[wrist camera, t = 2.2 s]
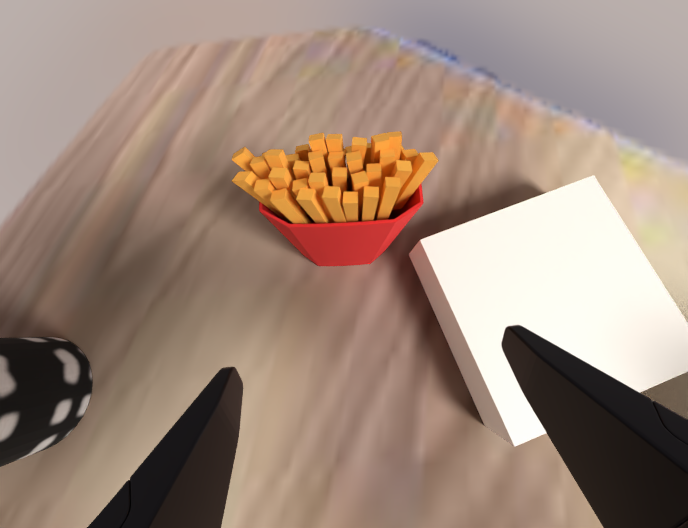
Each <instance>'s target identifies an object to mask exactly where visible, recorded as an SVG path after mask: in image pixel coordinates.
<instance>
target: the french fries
mask: <svg viewBox="0 0 688 528" xmlns="http://www.w3.org/2000/svg"><path fill="white" fill-rule="evenodd" d="M401 142H402V134H401V132H387V134H386V133H383V134H378V135H374V136H371V143H367V138H358V137H353V140H352V146H349V147H345V149H344V148H343V139H342V134H328V136H327V138H326V140H325V137H324V133H319V134H315V135H310V136H309V144H310V146H311V149H310V147H309V144H306V145H301V146H296V150H295V153H296V154H291V155H286V156H285V153H284V151H283V149H280V150H275V149H274V150H268V151H267V152H265V153H262V156H259V157H255V156H254V155H253V154H252V153H251V152H250V151H249V150H248V149H247V148H246V147H244V148H242V149H241V150H239V151H237V152H236V153H234V154H233V157H232V160H233V161H234V162H235V163H236V164H238V165H239V166H240V167H241V168H242V169H244V170H245V171H244V172H238V173H237V175H236V176H235V177H234V179H233V180H232V182H234V183H235V184H236V185H238V186H239V187H240V188H242V189H243V190H245V191H246V192H247V193H249V194H250V195H251V196H253V197H254V198H255V199H257V200H258V201H259V211H260V212H261V213H262V214H263V215H264V216H265V217H266V218H267V219H268V220H269V221H270V222H271V223H272V224H273V225H274V226H275V227H276V228H277V229H278V230H279V231H280V232H281V233H282V234H283V235H284V236H285V237H286V238H287V239H288V240H289V241H290V242H291V243H292V244H293V245H294V246H295V247H296V248H297V249H298V250H299V251H300V252H301V253H302V254H303V255H304V256H305V257H307V258H308V259H310V260H311V261H312V262H314V263H315V264H316V265H318V266H348V265H362V264H371V263H372V262H373V261H374V260H375V259H376V258H378V257H379V256H380V255H381V254H382V253H383V252H384V251H385V250H386V249H387V248H388V246H389V245H390V244H391V243H392V241H393V240H394V239H395V238H396V236H397V235H398V234H399V233H400V231H401V230H402V229H403V228H404V227H405V225H406V224H407V223H408V222H409V220H410V219H411V218H412V217H413V215H414V214H415V213H416V212H417V211H418V209H419V208H420V207H421V206H422V204H423V194H422V185H421V183H422V181H423V180H424V179H425V178H426V176H427V175H428V174H429V172H430V171H431V170H432V168H433V167H434V166H435V165H436V163H437V162H438V161H439V160H438V159H437V158H436V156H435V155H434V153H433V152H432V153H419V154H418V153H417V151H416V150H415V149H409V150H404V148H403V147H402V145H401ZM345 158H346V159H347V168H348V169H347V168H346V163H345Z"/></svg>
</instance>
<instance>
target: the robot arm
mask: <svg viewBox="0 0 688 528" xmlns="http://www.w3.org/2000/svg"><path fill="white" fill-rule="evenodd" d="M501 346H502V350H503V352H504V354H505V356H506V359H507V361H508V363H509V365H510V367H511V369H512V371H513V373H514V376H515V378H516V380H517V382H518V384H519V386H520V388H521V390H522V392H523V394H524V396H525V397H526V399H527V401H528V403H529V404H530V406H531V408H532V409H533V411H534V413H535V414H536V416H537V418H538V419H539V421H540V423H541V424H542V426H543V428H544V429H545V431H546V433H547V434H548V436H549V438H550V439H551V441H552V443H553V444H554V446H555V447H556V449H557V451H558V452H559V454H560V456H561V457H562V459H563V461H564V462H565V464H566V466H567V467H568V469H569V471H570V472H571V474H572V476H573V477H574V479H575V481H576V482H577V484H578V486H579V487H580V489H581V491H582V492H583V494H584V496H585V497H586V499H587V501H588V502H589V504H590V506H591V507H592V509H593V511H594V512H595V514H596V516H597V517H598V519H599V521H600V522H601V524H602V526H603V527H604V528H688V419H686V418H684V417H682V416H681V415H679V414H677V413H675V412H673V411H671V410H670V409H668V408H666V407H664V406H663V405H661V404H659V403H657V402H656V401H652V400H651V399H650V398H648V397H647V396H645V395H643V394H641V393H639V392H638V391H636V390H634V389H632V388H631V387H629V386H627V385H625V384H624V383H622V382H620V381H618V380H617V379H615V378H613V377H611V376H609V375H608V374H606V373H604V372H602V371H601V370H599V369H597V368H595V367H594V366H592V365H590V364H588V363H587V362H585V361H583V360H581V359H579V358H578V357H576V356H574V355H572V354H571V353H569V352H567V351H565V350H564V349H562V348H560V347H558V346H557V345H555V344H553V343H551V342H549V341H548V340H546V339H544V338H542V337H541V336H539V335H537V334H535V333H534V332H532V331H530V330H528V329H527V328H525V327H523V326H521V325H512V326H507V327H506V328H505V331H504V335H503V339H502V343H501ZM242 395H243V383H242V380H241V378H240V376H239V374H238V372H237V370H236V368H235V367H226V368H222V369H221V370H219V372H218V373H217V374H216V375H215V376H214V378H213V379H212V380H211V381H210V382H209V384H208V385H207V386H206V387H205V388H204V390H203V391H202V392H201V393H200V394H199V396H198V397H197V398H196V399H195V400H194V402H193V403H192V404H191V405H190V406H189V408H188V409H187V410H186V411H185V412H184V414H183V415H182V416H181V417H180V418H179V420H178V421H177V422H176V423H175V424H174V426H173V427H172V428H171V429H170V430H169V432H168V433H167V434H166V435H165V436H164V438H163V439H162V440H161V441H160V442H159V444H158V445H157V446H156V447H155V448H154V450H153V451H152V452H151V453H150V454H149V456H148V457H147V458H146V459H145V460H144V462H143V463H142V464H141V465H140V466H139V468H138V469H137V470H136V471H135V472H134V474H133V475H132V476H131V477H130V480H128V481H127V482H126V483H125V484H124V486H123V487H122V488H121V489H120V490H119V492H118V493H117V494H116V495H115V496H114V497H113V499H112V500H111V501H110V502H109V503H108V504H107V506H106V507H105V508H104V509H103V510H102V511H101V513H100V514H99V515H98V516H97V517H96V518H95V519H94V521H93V522H92V523H91V524H90V525H89V526H88V527H87V528H221V524H222V519H223V514H224V509H225V504H226V499H227V494H228V489H229V484H230V479H231V474H232V469H233V464H234V459H235V453H236V448H237V443H238V437H239V429H240V418H241V407H242Z"/></svg>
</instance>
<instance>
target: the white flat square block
mask: <svg viewBox="0 0 688 528" xmlns="http://www.w3.org/2000/svg"><path fill="white" fill-rule="evenodd" d="M409 256H410V259H411V261H412V263H413V265H414V268H415V270H416V272H417V274H418V277H419V279H420V281H421V284H422V286H423V288H424V290H425V293H426V295H427V297H428V299H429V302H430V304H431V306H432V308H433V311H434V313H435V315H436V317H437V320H438V322H439V324H440V326H441V329H442V331H443V333H444V335H445V338H446V340H447V342H448V344H449V347H450V349H451V351H452V353H453V356H454V358H455V360H456V362H457V365H458V367H459V369H460V372H461V374H462V376H463V378H464V381H465V383H466V385H467V387H468V390H469V392H470V394H471V396H472V399H473V401H474V403H475V405H476V408H477V410H478V412H479V414H480V417H481V419H482V421H483V423H484V426H486V427H487V428H489V429H490V430H491V431H493V432H494V433H496V434H497V435H499V436H500V437H502V438H503V439H504V440H506V441H507V442H509V443H510V444H512V445H513V446H517V445H520V444H522V443H524V442H526V441H529V440H531V439H533V438H536V437H538V436H540V435H543V434H545V433H546V431H545V429H544V428H543V426H542V424H541V423H540V421H539V419H538V418H537V416H536V414H535V413H534V411H533V409H532V408H531V406H530V404H529V403H528V401H527V399H526V397H525V396H524V394H523V392H522V390H521V388H520V386H519V384H518V382H517V380H516V378H515V376H514V373H513V371H512V369H511V367H510V365H509V363H508V361H507V359H506V356H505V354H504V352H503V350H502V346H501V343H502V339H503V335H504V331H505V328H506V327H507V326H512V325H521V326H523V327H525V328H527V329H528V330H530V331H532V332H534V333H535V334H537V335H539V336H541V337H542V338H544V339H546V340H548V341H549V342H551V343H553V344H555V345H557V346H558V347H560V348H562V349H564V350H565V351H567V352H569V353H571V354H572V355H574V356H576V357H578V358H579V359H581V360H583V361H585V362H587V363H588V364H590V365H592V366H594V367H595V368H597V369H599V370H601V371H602V372H604V373H606V374H608V375H609V376H611V377H613V378H615V379H617V380H618V381H620V382H622V383H624V384H625V385H627V386H629V387H631V388H632V389H634V390H636V391H638V392H639V393H640V392H642V391H644V390H647V389H649V388H651V387H654V386H656V385H658V384H661V383H663V382H665V381H668V380H670V379H672V378H674V377H677V376H679V375H681V374H684V373H686V372H688V323H687V321H686V319H685V318H684V316H683V315H682V313H681V312H680V310H679V308H678V307H677V305H676V304H675V302H674V301H673V299H672V297H671V296H670V294H669V293H668V291H667V290H666V288H665V286H664V285H663V283H662V282H661V280H660V279H659V277H658V275H657V274H656V272H655V271H654V269H653V268H652V266H651V264H650V263H649V261H648V260H647V258H646V257H645V255H644V253H643V252H642V250H641V249H640V247H639V246H638V244H637V242H636V241H635V239H634V238H633V236H632V235H631V233H630V231H629V230H628V228H627V227H626V225H625V224H624V222H623V220H622V219H621V217H620V216H619V214H618V213H617V211H616V209H615V208H614V206H613V205H612V203H611V202H610V200H609V198H608V197H607V195H606V194H605V192H604V191H603V189H602V187H601V186H600V184H599V183H598V181H597V180H596V178H595V176H594V175H593V176H590V177H588V178H585V179H582V180H580V181H577V182H574V183H572V184H569V185H566V186H564V187H561V188H558V189H555V190H553V191H550V192H547V193H545V194H542V195H539V196H537V197H534V198H531V199H528V200H526V201H523V202H520V203H518V204H515V205H512V206H510V207H507V208H504V209H502V210H499V211H496V212H493V213H491V214H488V215H485V216H483V217H480V218H477V219H475V220H472V221H469V222H467V223H464V224H461V225H458V226H456V227H453V228H450V229H448V230H445V231H442V232H440V233H437V234H434V235H432V236H429V237H426V238H423V239H421V240H419V242H418V243H417V244H416V245H415V247H414V248H413V249H412V251H411V252H410V253H409Z"/></svg>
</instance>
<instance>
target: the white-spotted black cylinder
mask: <svg viewBox="0 0 688 528" xmlns="http://www.w3.org/2000/svg"><path fill="white" fill-rule="evenodd" d="M91 392H92V372H91V368H90V365H89V362H88V360H87V358H86V356H85V355H84V353H83V352H82V351H81V350H80V349H79V348H78V347H77V346H76V345H74V344H73V343H71V342H70V341H67V340H64V339H61V338H54V337H31V338H0V467H1V466H3V465H6V464H9V463H11V462H14V461H16V460H19V459H22V458H24V457H27V456H29V455H32V454H34V453H37V452H40V451H42V450H45V449H47V448H49V447H51V446H53V445H55V444H57V443H58V442H59V441H61V440H62V439H63V438H65V437H66V436H67V435H68V434H69V433H70V432H71V431H72V430H73V429H74V428H75V427H76V425H77V424H78V422H79V421H80V419H81V418H82V417H83V415H84V413H85V410H86V408H87V406H88V403H89V400H90V396H91Z"/></svg>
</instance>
